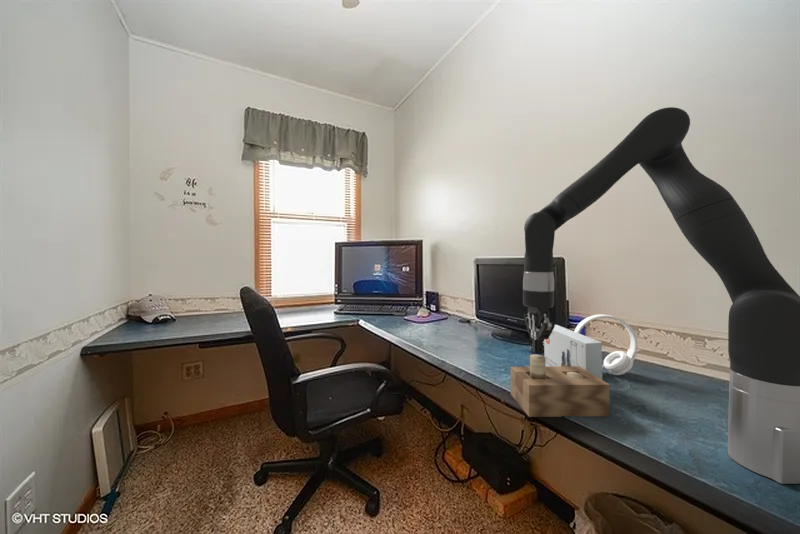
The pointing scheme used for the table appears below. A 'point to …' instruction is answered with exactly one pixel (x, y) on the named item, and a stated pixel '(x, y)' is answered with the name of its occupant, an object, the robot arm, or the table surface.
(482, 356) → the table surface
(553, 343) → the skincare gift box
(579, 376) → the dowel
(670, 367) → the table surface
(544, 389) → the socket board
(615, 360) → the headphones
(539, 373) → the dowel
